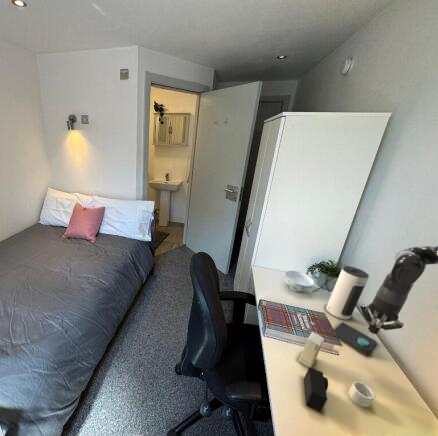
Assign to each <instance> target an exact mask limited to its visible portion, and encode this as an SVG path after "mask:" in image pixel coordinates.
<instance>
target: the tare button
mask: <svg viewBox="0 0 438 436" xmlns="http://www.w3.org/2000/svg"><path fill="white" fill-rule="evenodd" d="M357 343H358V344H360V345H361V346H363V347H368V345H369V342H368V341H367V340H365V339H363V338H358V340H357Z"/></svg>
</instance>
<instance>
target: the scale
mask: <svg viewBox="0 0 438 436" xmlns="http://www.w3.org/2000/svg"><path fill="white" fill-rule="evenodd" d="M333 331H334V332H335V333H336V335H337V337H338V338H337V337H336V338H337V339H339V340H340V341H342V342H343V343H345V344H346V345H348V346H350V347H351V348H353V349H354V350H355V351H358V352H360V353H361V354H363V355H364V356H366V357H367V356H368V355H369V354H370V353H371V352H372V350H373V348H374V347H375V345H376V344H377V340H376V339H374V338H372V337H370V336H368V335H366V334H364V333H363V332H361V331H360V330H358V329H356V328H354V327H352V326H351V325H350V324H349V325H348V324H347V323H345V322H344V321H342V322H341V323H340V324H339V325H338V326H336V328H334V330H333ZM358 338H363V339H365V340H367V341H368V342H369V345H368V347H363V346H361V345H360V344H358V343H357V340H358Z"/></svg>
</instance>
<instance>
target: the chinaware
mask: <svg viewBox="0 0 438 436" xmlns="http://www.w3.org/2000/svg"><path fill="white" fill-rule="evenodd" d="M284 280H285V283H286V284H287V285H288V288H289V289H290V290H292V291H294V292H297V293H301V292H304V291H308V290H310V289H311V288H312V287H313V286H314V284H315V281H314V279H313V278H312V277H311V276H310V275H308V274H306V273H304V272H302V271H301V272H300V271H299V270H287V271H285V272H284Z"/></svg>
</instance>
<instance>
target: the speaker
mask: <svg viewBox="0 0 438 436" xmlns="http://www.w3.org/2000/svg"><path fill="white" fill-rule="evenodd" d="M369 278H370V275H369V273H368V272H366V271H364V270H362V269H360V268H358V267H354V266H349V265H344V266H342V268H341V270H340V273H339V274H338V277H337V280H336V283H335V285H334V287H333V290H332V292H331V294H330V297H329V300H328V302H327V305H326V307H325V308H326V311H327V312H328V313H329V314H330V315H332V316H334V317H335V318H338V319H341V320H344V321H345V320H350V319H351V317H352V315H353V313H354V310H355V309H356V307H357V305H358V302H359V300H360V298H361V296H362V293H363V291H364V289H365V287H366V284H367V283H368V280H369Z"/></svg>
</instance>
